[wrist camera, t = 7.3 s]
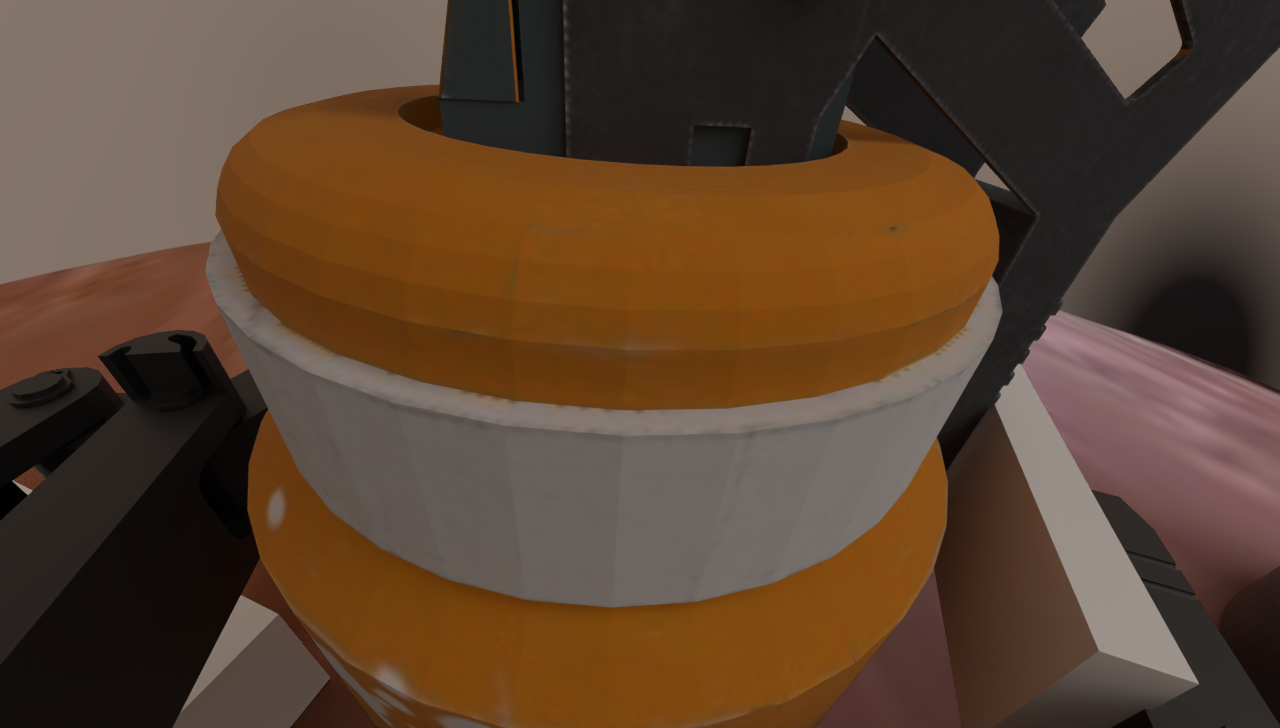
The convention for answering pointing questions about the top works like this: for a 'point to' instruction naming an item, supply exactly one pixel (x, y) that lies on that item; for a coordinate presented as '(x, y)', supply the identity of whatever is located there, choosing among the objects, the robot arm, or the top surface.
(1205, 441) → the top surface
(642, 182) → the canister
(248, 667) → the tray
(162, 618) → the robot arm
